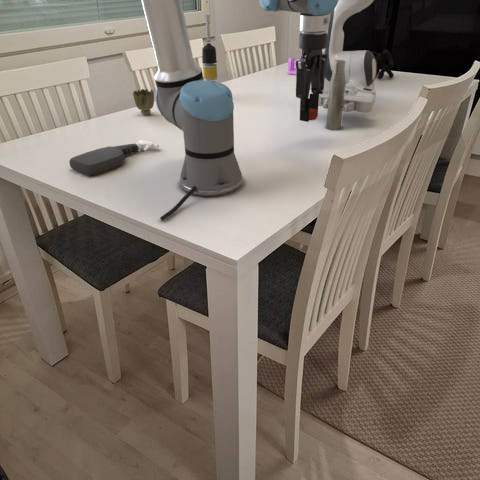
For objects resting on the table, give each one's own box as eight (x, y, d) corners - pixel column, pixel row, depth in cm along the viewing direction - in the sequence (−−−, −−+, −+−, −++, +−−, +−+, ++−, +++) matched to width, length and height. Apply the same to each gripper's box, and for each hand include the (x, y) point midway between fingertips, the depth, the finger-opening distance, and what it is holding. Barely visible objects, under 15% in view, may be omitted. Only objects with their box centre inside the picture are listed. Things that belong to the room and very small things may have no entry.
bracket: (297, 74, 213) (298, 59, 209) (287, 73, 216) (288, 58, 212) (311, 70, 222) (312, 55, 218) (301, 68, 225) (302, 54, 221)
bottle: (326, 129, 144) (332, 62, 133) (325, 125, 148) (331, 59, 137) (341, 129, 144) (348, 62, 133) (340, 125, 148) (346, 59, 137)
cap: (318, 116, 133) (318, 108, 131) (313, 121, 129) (314, 113, 128) (303, 115, 134) (304, 107, 133) (299, 119, 131) (299, 111, 130)
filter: (220, 99, 177) (217, 15, 161) (206, 100, 176) (202, 16, 160) (215, 96, 182) (212, 14, 166) (202, 97, 180) (197, 14, 164)
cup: (131, 115, 161) (128, 92, 157) (144, 109, 166) (141, 87, 162) (147, 117, 158) (145, 94, 154) (160, 112, 163) (157, 89, 159)
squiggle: (382, 89, 208) (358, 69, 211) (398, 74, 207) (374, 53, 210) (386, 78, 197) (361, 56, 199) (403, 61, 196) (378, 40, 199)
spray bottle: (67, 168, 120) (139, 144, 136) (91, 178, 114) (163, 151, 130) (65, 157, 118) (137, 134, 134) (89, 167, 112) (162, 142, 128)
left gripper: (309, 37, 112) (304, 128, 124) (341, 29, 123) (334, 113, 136) (283, 35, 116) (281, 124, 128) (317, 27, 127) (312, 109, 140)
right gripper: (321, 84, 154) (305, 93, 144) (380, 91, 145) (366, 101, 135) (320, 102, 158) (304, 112, 148) (377, 110, 148) (364, 121, 139)
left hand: (308, 118), depth 132 cm, fingers closed on cap, 4 cm apart
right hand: (334, 107), depth 141 cm, fingers closed on bottle, 5 cm apart
